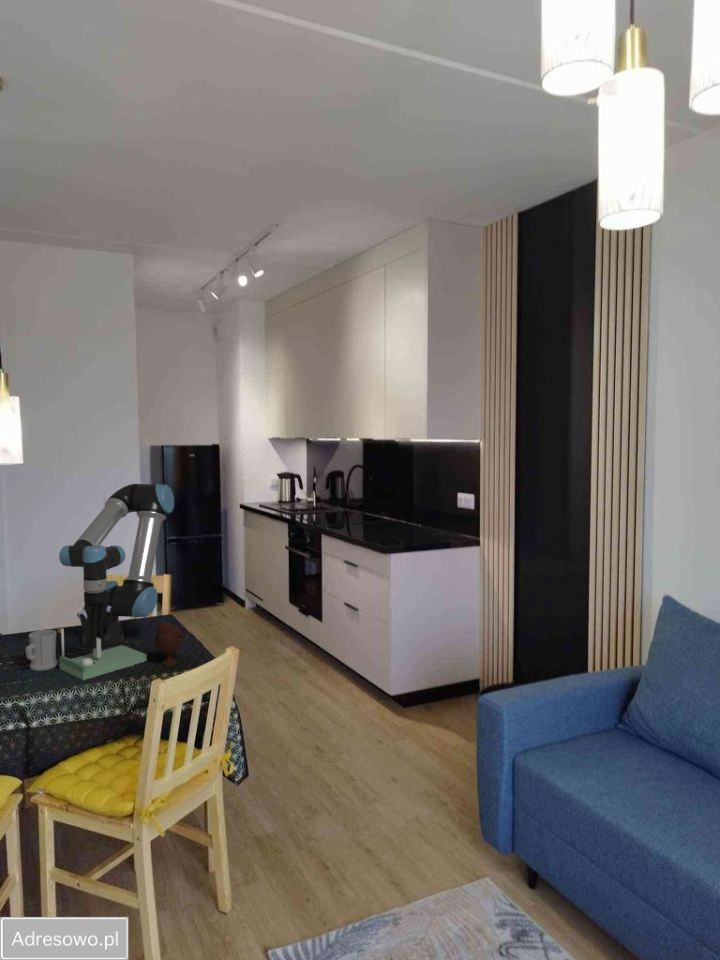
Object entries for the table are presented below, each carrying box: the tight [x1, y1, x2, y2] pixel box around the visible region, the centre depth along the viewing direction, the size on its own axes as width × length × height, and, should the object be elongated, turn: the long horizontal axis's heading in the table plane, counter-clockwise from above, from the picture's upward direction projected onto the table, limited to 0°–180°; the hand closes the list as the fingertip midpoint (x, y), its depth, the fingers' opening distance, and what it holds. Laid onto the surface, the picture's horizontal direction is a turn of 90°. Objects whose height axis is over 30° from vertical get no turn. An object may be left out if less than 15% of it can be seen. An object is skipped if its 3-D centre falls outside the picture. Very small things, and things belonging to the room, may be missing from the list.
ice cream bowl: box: [152, 621, 186, 667], centre depth 240 cm, size 11×11×15 cm
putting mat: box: [57, 626, 148, 681], centre depth 238 cm, size 17×24×14 cm
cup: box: [25, 629, 58, 672], centre depth 235 cm, size 10×9×12 cm
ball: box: [81, 658, 93, 666], centre depth 233 cm, size 4×4×4 cm
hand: (97, 656), depth 236 cm, fingers closed
